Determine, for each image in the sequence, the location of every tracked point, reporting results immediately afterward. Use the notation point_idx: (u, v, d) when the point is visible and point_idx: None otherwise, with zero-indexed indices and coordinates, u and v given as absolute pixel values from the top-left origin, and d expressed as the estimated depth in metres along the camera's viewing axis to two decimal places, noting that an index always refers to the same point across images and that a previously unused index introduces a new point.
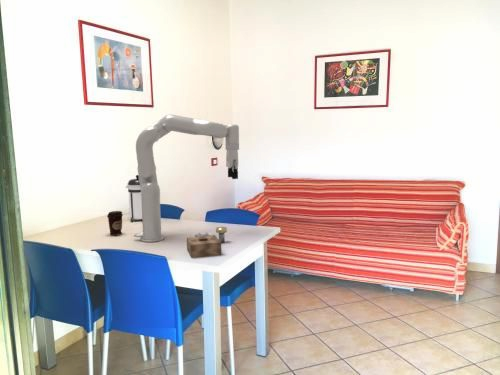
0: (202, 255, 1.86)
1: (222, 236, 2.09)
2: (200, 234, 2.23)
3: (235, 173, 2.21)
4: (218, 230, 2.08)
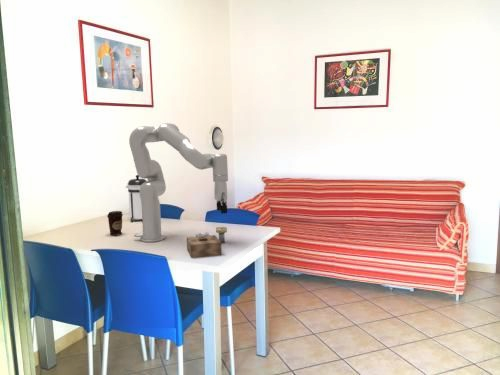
0: (202, 255, 1.86)
1: (222, 236, 2.09)
2: (200, 234, 2.23)
3: (224, 207, 2.03)
4: (218, 230, 2.08)
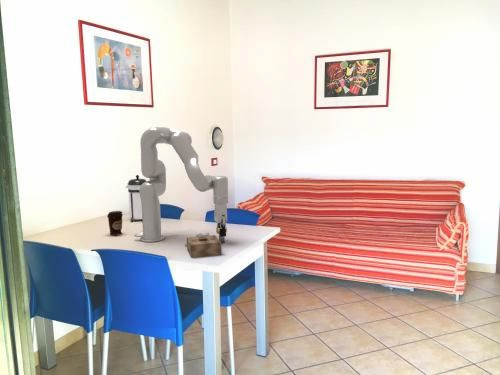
0: (202, 255, 1.86)
1: None
2: (201, 234, 2.23)
3: (223, 230, 2.06)
4: (218, 230, 2.08)
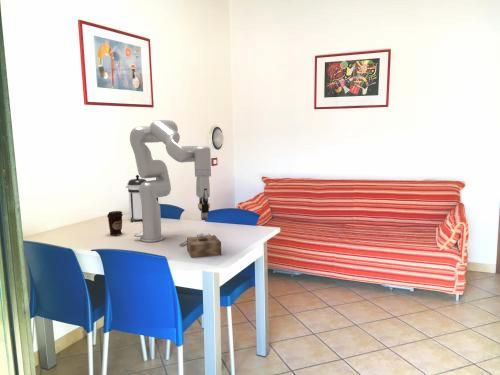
0: (202, 255, 1.86)
1: None
2: (201, 235, 2.22)
3: (205, 206, 1.88)
4: (200, 206, 1.89)
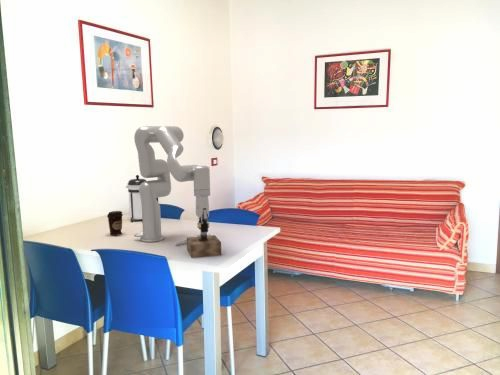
0: (202, 255, 1.86)
1: (204, 232, 1.91)
2: None
3: None
4: (199, 225, 1.89)
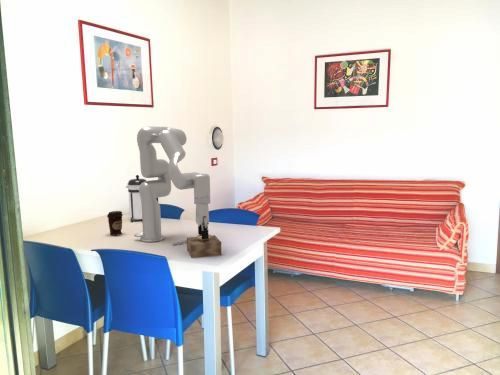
0: (202, 255, 1.86)
1: None
2: None
3: (205, 232, 1.87)
4: (199, 238, 1.90)
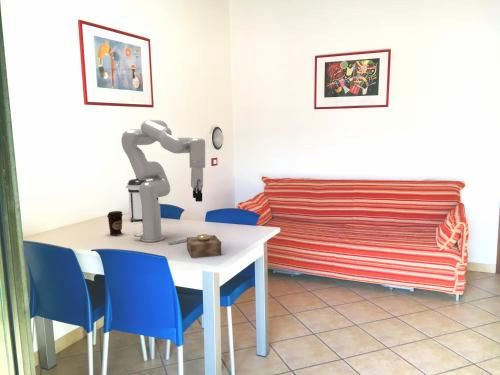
0: (202, 255, 1.86)
1: None
2: None
3: (199, 195, 1.92)
4: (199, 238, 1.90)
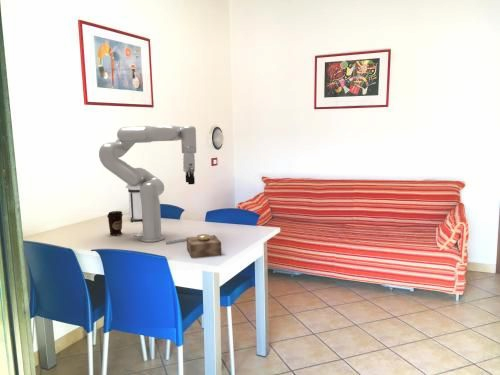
0: (202, 255, 1.86)
1: None
2: None
3: (191, 178, 2.07)
4: (199, 238, 1.90)
